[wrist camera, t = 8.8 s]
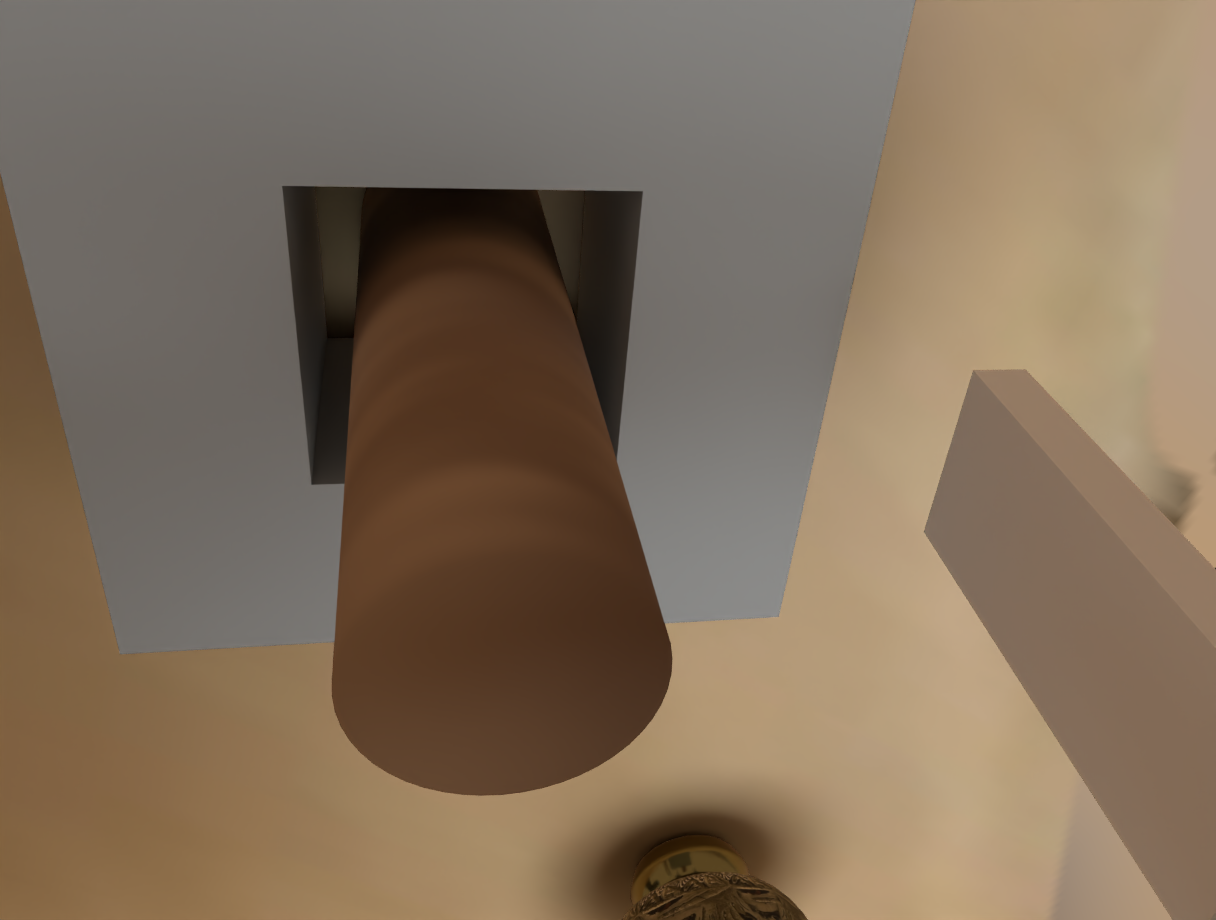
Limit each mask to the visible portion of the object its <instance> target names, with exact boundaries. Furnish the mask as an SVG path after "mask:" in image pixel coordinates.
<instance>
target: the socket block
mask: <svg viewBox="0 0 1216 920" xmlns="http://www.w3.org/2000/svg"><path fill="white" fill-rule="evenodd" d="M915 1H916V0H0V174H1V178H2V182H3V186H4V190H5V194H6V198H7V202H8V206H9V210H10V214H11V218H12V222H13V226H14V230H15V234H16V238H17V242H18V246H19V250H20V254H21V258H22V262H23V266H24V270H25V274H26V278H27V282H28V286H29V290H30V294H31V298H32V302H33V306H34V310H35V314H36V318H37V322H38V326H39V330H40V334H41V338H42V342H43V346H44V350H45V355H46V359H47V363H48V367H49V371H50V375H51V379H52V383H53V387H54V391H55V395H56V399H57V403H58V407H59V411H60V415H61V419H62V423H63V427H64V431H65V435H66V439H67V443H68V447H69V451H70V455H71V459H72V463H73V467H74V471H75V475H76V479H77V483H78V487H79V491H80V495H81V499H82V503H83V507H84V511H85V515H86V519H87V523H88V527H89V531H90V535H91V539H92V543H93V547H94V551H95V555H96V559H97V563H98V567H99V571H100V575H101V579H102V584H103V588H104V592H105V596H106V600H107V604H108V608H109V612H110V616H111V620H112V624H113V628H114V632H115V636H116V640H117V644H118V648H119V652H120V654H134V653H152V652H169V651H187V650H204V649H222V648H240V647H257V646H275V645H292V644H310V643H328V642H334V640H335V625H336V609H337V594H338V578H339V562H340V547H341V531H342V516H343V500H344V484H345V469H346V453H347V438H348V422H349V406H350V391H351V375H352V360H353V344H354V338H327V328H326V316H325V304H324V291H323V279H322V266H321V254H320V241H319V229H318V217H317V204H316V192H315V186H327V187H394V188H461V189H527V190H585V200H584V215H583V230H582V245H581V261H580V276H579V291H578V306H577V321H576V324H577V328H578V331H579V335H580V338H581V341H582V345H583V348H584V351H585V355H586V358H587V362H588V365H589V368H590V372H591V375H592V379H593V382H594V385H595V389H596V392H597V396H598V399H599V402H600V406H601V409H602V413H603V416H604V419H605V423H606V426H607V430H608V433H609V436H610V440H611V443H612V446H613V450H614V453H615V457H616V460H617V463H618V467H619V470H620V474H621V477H622V480H623V484H624V487H625V491H626V494H627V497H628V501H629V504H630V508H631V511H632V514H633V518H634V521H635V524H636V528H637V531H638V535H639V538H640V541H641V545H642V548H643V552H644V555H645V558H646V562H647V565H648V569H649V572H650V575H651V579H652V582H653V586H654V589H655V592H656V596H657V599H658V602H659V606H660V609H661V613H662V616H663V619H664V623H679V622H697V621H715V620H732V619H750V618H767V617H779V613H780V609H781V604H782V600H783V595H784V591H785V586H786V582H787V577H788V573H789V568H790V564H791V559H792V555H793V550H794V546H795V541H796V537H797V532H798V528H799V523H800V519H801V514H802V510H803V505H804V501H805V496H806V492H807V487H808V483H809V478H810V474H811V469H812V465H813V460H814V456H815V451H816V447H817V442H818V438H819V433H820V429H821V424H822V420H823V415H824V411H825V406H826V402H827V397H828V393H829V388H830V384H831V379H832V375H833V370H834V366H835V361H836V357H837V352H838V347H839V343H840V338H841V334H842V329H843V325H844V320H845V316H846V311H847V307H848V302H849V298H850V293H851V289H852V284H853V280H854V275H855V271H856V266H857V262H858V257H859V253H860V248H861V244H862V239H863V235H864V230H865V226H866V221H867V217H868V212H869V208H870V203H871V199H872V194H873V190H874V185H875V181H876V176H877V172H878V167H879V163H880V158H881V154H882V149H883V145H884V140H885V136H886V131H887V127H888V122H889V118H890V113H891V109H892V104H893V100H894V95H895V91H896V86H897V82H898V77H899V73H900V68H901V64H902V59H903V55H904V50H905V46H906V41H907V37H908V32H909V28H910V23H911V19H912V14H913V10H914V5H915Z"/></svg>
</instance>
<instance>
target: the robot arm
mask: <svg viewBox="0 0 1216 920" xmlns="http://www.w3.org/2000/svg"><path fill="white" fill-rule="evenodd" d="M924 533H925V534H926V536H927V537H928V539H929V540H930V542H931V544H932V545H933V547H934V548H935V550H936V551H937V553H938V555H939V556H940V558H941V559H942V561H943V562H944V564H945V565H946V567H947V569H948V570H949V572H950V573H951V575H952V576H953V578H954V579H955V581H956V583H957V584H958V586H959V587H960V589H961V590H962V592H963V594H964V595H965V597H966V598H967V600H968V601H969V603H970V604H971V606H972V608H973V609H974V611H975V612H976V614H977V615H978V617H979V618H980V620H981V622H982V623H983V625H984V626H985V628H986V629H987V631H988V633H989V634H990V636H991V637H992V639H993V640H994V642H995V643H996V645H997V647H998V648H999V650H1000V651H1001V653H1002V654H1003V656H1004V657H1005V659H1006V661H1007V662H1008V664H1009V665H1010V667H1011V668H1012V670H1013V672H1014V673H1015V675H1016V676H1017V678H1018V679H1019V681H1020V682H1021V684H1022V686H1023V687H1024V689H1025V690H1026V692H1027V693H1028V695H1029V697H1030V698H1031V700H1032V701H1033V703H1034V704H1035V706H1036V707H1037V709H1038V711H1039V712H1040V714H1041V715H1042V717H1043V718H1044V720H1045V721H1046V723H1047V725H1048V726H1049V728H1050V729H1051V731H1052V732H1053V734H1054V736H1055V737H1056V739H1057V740H1058V742H1059V743H1060V745H1061V746H1062V748H1063V750H1064V751H1065V753H1066V754H1067V756H1068V757H1069V759H1070V760H1071V762H1072V764H1073V765H1074V767H1075V768H1076V770H1077V771H1078V773H1079V775H1080V776H1081V778H1082V779H1083V781H1084V782H1085V784H1086V785H1087V787H1088V788H1089V790H1090V792H1091V793H1092V795H1093V796H1094V798H1095V799H1096V801H1097V803H1098V804H1099V806H1100V807H1101V809H1102V810H1103V812H1104V814H1105V815H1106V817H1107V818H1108V820H1109V821H1110V823H1111V824H1112V826H1113V827H1114V829H1115V830H1116V832H1117V834H1118V835H1119V837H1120V839H1121V840H1122V842H1123V843H1124V845H1125V846H1126V848H1127V849H1128V851H1129V852H1130V854H1131V856H1132V857H1133V859H1134V860H1135V862H1136V863H1137V865H1138V867H1139V868H1140V870H1141V871H1142V873H1143V874H1144V876H1145V878H1146V879H1147V881H1148V882H1149V884H1150V885H1151V887H1152V888H1153V890H1154V892H1155V893H1156V895H1157V896H1158V898H1159V899H1160V901H1161V902H1162V904H1163V906H1164V907H1165V908H1166V910H1167V912H1168V913H1169V915H1170V916H1171V918H1172V920H1216V568H1214V567H1213V566H1212V565H1211V564H1210V563H1209V562H1208V561H1207V560H1206V559H1205V558H1204V557H1203V555H1202V554H1201V553H1199V551H1198V550H1197V549H1196V548H1195V547H1194V546H1193V545H1192V544H1191V543H1190V542H1189V541H1188V540H1187V539H1186V538H1185V537H1184V535H1183V534H1182V533H1181V532H1180V531H1179V530H1178V529H1177V528H1176V527H1175V526H1174V525H1173V524H1172V523H1171V522H1170V521H1169V520H1168V519H1167V518H1166V517H1165V516H1164V514H1163V513H1162V512H1161V511H1160V510H1159V509H1158V508H1157V507H1156V506H1155V505H1154V504H1153V503H1152V502H1151V501H1150V500H1149V499H1148V498H1147V497H1146V496H1145V494H1144V493H1143V492H1142V491H1141V490H1140V489H1139V488H1138V487H1137V486H1136V485H1135V484H1134V483H1133V482H1132V481H1131V480H1130V479H1129V478H1128V477H1127V476H1126V475H1125V473H1124V472H1123V471H1122V470H1121V469H1120V468H1119V467H1118V466H1117V465H1116V464H1115V463H1114V462H1113V461H1112V460H1111V459H1110V458H1109V457H1108V456H1107V455H1106V453H1105V452H1104V451H1103V450H1102V449H1101V448H1100V447H1099V446H1098V445H1097V444H1096V443H1095V442H1094V441H1093V440H1092V439H1091V438H1090V437H1089V436H1088V435H1087V434H1086V432H1085V431H1084V430H1083V429H1082V428H1081V427H1080V426H1079V425H1078V424H1077V423H1076V422H1075V421H1074V420H1073V419H1072V418H1071V417H1070V416H1069V415H1068V414H1067V413H1066V411H1065V410H1064V409H1063V408H1062V407H1061V406H1060V405H1059V404H1058V403H1057V402H1056V401H1055V400H1054V399H1053V398H1052V397H1051V396H1050V395H1049V394H1048V393H1047V391H1046V390H1045V389H1044V388H1043V387H1042V386H1041V385H1040V384H1039V383H1038V382H1037V381H1036V380H1035V379H1034V378H1033V377H1032V376H1031V375H1030V374H1029V373H1028V372H1027V370H1026V369H1024V370H973V373H972V376H971V379H970V383H969V386H968V389H967V393H966V396H965V399H964V402H963V406H962V409H961V412H960V415H959V419H958V422H957V425H956V428H955V432H954V435H953V438H952V442H951V445H950V448H949V451H948V455H947V458H946V461H945V464H944V468H943V471H942V474H941V477H940V481H939V484H938V487H937V491H936V494H935V497H934V500H933V504H932V507H931V510H930V513H929V517H928V520H927V523H926V526H925V530H924Z"/></svg>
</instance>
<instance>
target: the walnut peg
mask: <svg viewBox="0 0 1216 920" xmlns="http://www.w3.org/2000/svg"><path fill="white" fill-rule="evenodd" d="M671 672H672V651H671V643H670V640H669V636H668V633H667V630H666V626H665V623H664V619H663V616H662V613H661V609H660V606H659V602H658V599H657V596H656V592H655V589H654V586H653V582H652V579H651V575H650V572H649V569H648V565H647V562H646V558H645V555H644V552H643V548H642V545H641V541H640V538H639V535H638V531H637V528H636V524H635V521H634V518H633V514H632V511H631V508H630V504H629V501H628V497H627V494H626V491H625V487H624V484H623V480H622V477H621V474H620V470H619V467H618V463H617V460H616V457H615V453H614V450H613V446H612V443H611V440H610V436H609V433H608V430H607V426H606V423H605V419H604V416H603V413H602V409H601V406H600V402H599V399H598V396H597V392H596V389H595V385H594V382H593V379H592V375H591V372H590V368H589V365H588V362H587V358H586V355H585V351H584V348H583V345H582V341H581V338H580V335H579V331H578V328H577V324H576V321H575V318H574V314H573V311H572V307H571V304H570V301H569V297H568V294H567V290H566V287H565V284H564V280H563V277H562V273H561V270H560V267H559V263H558V260H557V257H556V253H555V250H554V246H553V243H552V240H551V236H550V233H549V229H548V226H547V223H546V219H545V216H544V212H543V209H542V206H541V202H540V199H539V196H538V192H537V190H527V189H461V188H394V187H367V190H366V193H365V196H364V201H363V207H362V219H361V235H360V250H359V266H358V282H357V297H356V313H355V328H354V344H353V360H352V375H351V391H350V406H349V422H348V438H347V453H346V469H345V484H344V500H343V516H342V531H341V547H340V562H339V578H338V594H337V609H336V625H335V640H334V656H333V672H332V699H333V704H334V709H335V713H336V715H337V718H338V721H339V723H340V726H341V727H342V729H343V731H344V732H345V734H346V736H347V737H348V739H349V740H350V741H351V743H352V744H353V745H354V746H355V747H356V748H357V749H358V751H359V752H360V753H361V754H363V755H364V756H365V757H366V758H367V759H368V760H370V761H371V762H372V763H373V764H375V765H376V766H378V767H379V768H381V769H383V770H384V771H386V772H387V773H389V774H391V775H393V776H395V777H397V778H400V779H402V780H404V781H406V782H409V783H412V784H415V785H418V786H421V787H424V788H428V789H432V790H436V791H441V792H447V793H454V794H461V795H504V794H512V793H520V792H526V791H531V790H536V789H540V788H544V787H548V786H551V785H554V784H558V783H561V782H564V781H566V780H569V779H571V778H574V777H577V776H579V775H581V774H583V773H585V772H587V771H589V770H591V769H593V768H595V767H597V766H599V765H601V764H602V763H604V762H605V761H607V760H609V759H610V758H612V757H613V756H615V755H616V754H617V753H619V752H620V751H621V750H623V749H624V748H625V747H626V746H628V745H629V744H630V743H631V742H632V741H633V740H634V739H635V738H636V737H637V736H638V735H639V734H640V733H641V732H642V731H643V730H644V729H645V727H646V726H647V725H648V724H649V722H650V721H651V720H652V719H653V717H654V716H655V714H656V712H657V711H658V709H659V707H660V706H661V704H662V702H663V699H664V697H665V694H666V692H667V690H668V686H669V682H670V678H671Z"/></svg>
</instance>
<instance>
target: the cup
mask: <svg viewBox="0 0 1216 920" xmlns="http://www.w3.org/2000/svg"><path fill="white" fill-rule="evenodd" d="M630 897H631V901H632V904H633V907H632V908H631V909H630V910H629V911H628V912H627V913H626V915H625V916H624V917H623V919H622V920H808V919H807V918H806V917H805V915H804V914H803V912H802V911H801V910H800V909H799V908H798V907H797V906H796V905H795V904H794V903H793V902H792V901H791V900H790V898H788V897H787V896H786V895H784V894H783V893H782V892H781V891H779V890H778V889H777V888H775V887H774V886H772V885H770V884H768V883H766V882H764V881H762V880H760V879H757V878H754V877H751V876H749V871H748V867H747V864H746V862H745V861H744V859H743V858H742V857H741V855H740V854H739V853H738V852H737V851H736V850H735V849H734V848H733V847H732V846H731V845H730V844H729V843H727V842H725V841H724V840H722V839H719V838H716V837H713V836H707V835H689V836H683V837H678V838H675V839H672V840H669V841H667V842H664V843H662V844H660V845H658V846H657V847H655V848H654V849H652V850H651V851H649V852H648V853H647V854H646V855H645V856H644V857H643V858H642V859H641V861H640V862H639V864H638V865H637V867H636V869H635V872H634V875H633V879H632V884H631V889H630Z"/></svg>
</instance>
